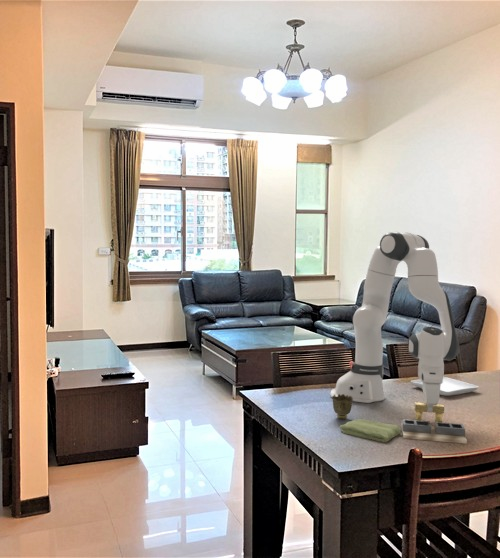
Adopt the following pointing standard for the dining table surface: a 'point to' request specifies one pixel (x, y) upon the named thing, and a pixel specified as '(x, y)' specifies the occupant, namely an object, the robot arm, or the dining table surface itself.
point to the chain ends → (439, 427)
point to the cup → (342, 405)
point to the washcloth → (371, 430)
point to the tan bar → (423, 408)
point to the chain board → (434, 436)
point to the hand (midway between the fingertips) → (429, 410)
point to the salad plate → (450, 386)
